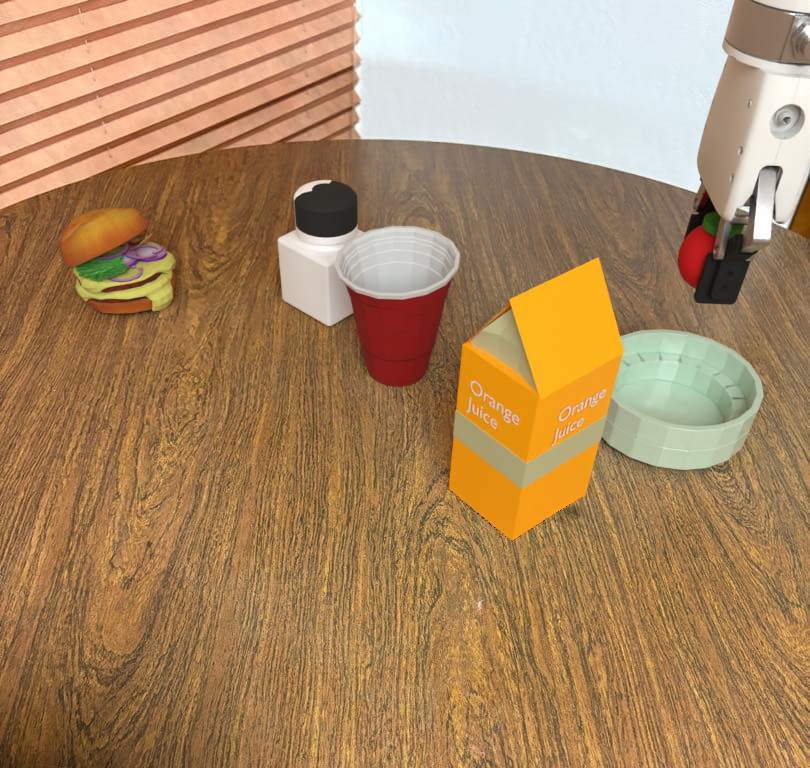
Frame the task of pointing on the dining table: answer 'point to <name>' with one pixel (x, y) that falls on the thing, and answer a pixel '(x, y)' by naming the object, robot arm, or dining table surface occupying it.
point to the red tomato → (700, 247)
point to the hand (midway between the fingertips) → (706, 279)
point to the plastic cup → (397, 297)
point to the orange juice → (535, 401)
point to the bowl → (681, 400)
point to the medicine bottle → (318, 250)
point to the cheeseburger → (118, 262)
